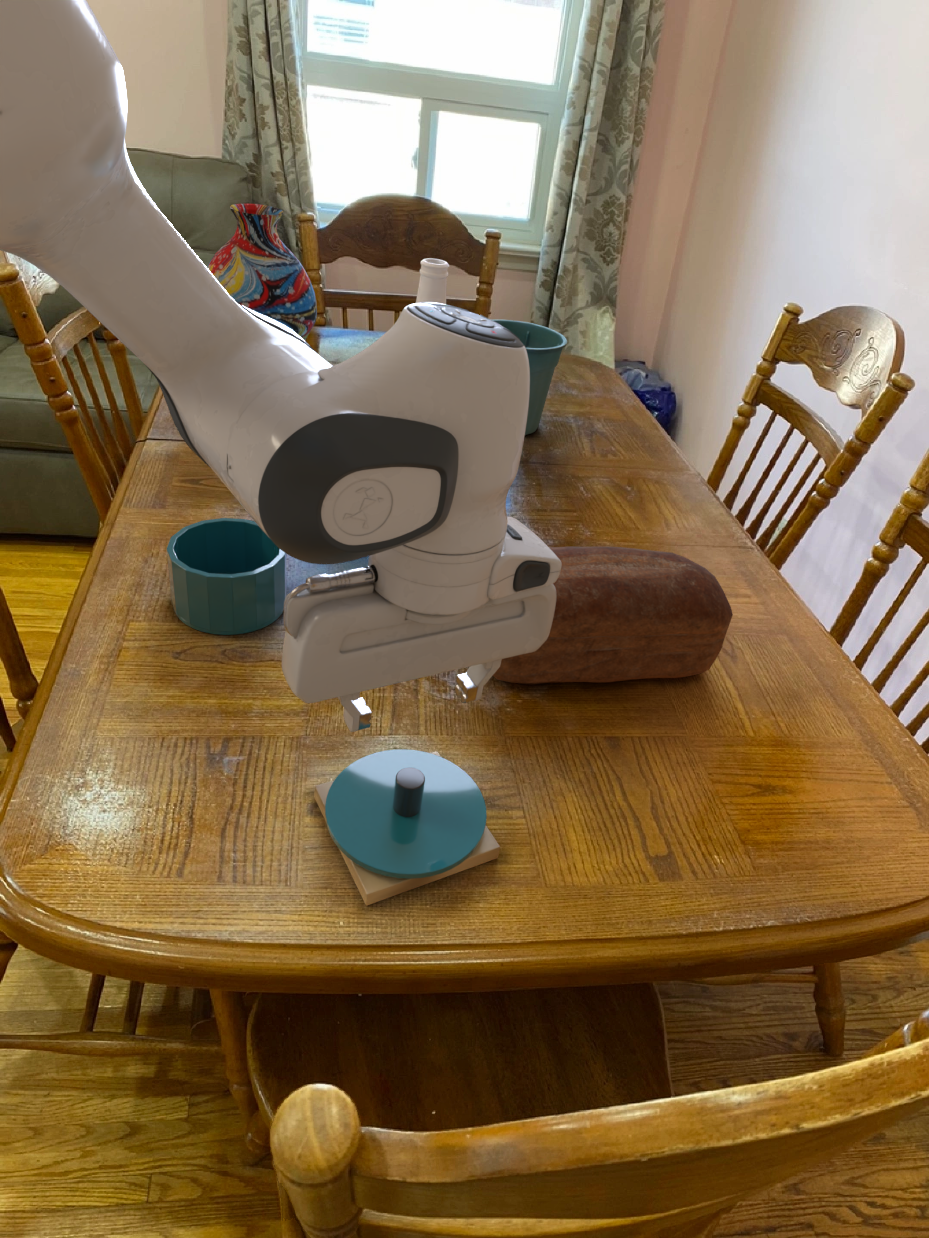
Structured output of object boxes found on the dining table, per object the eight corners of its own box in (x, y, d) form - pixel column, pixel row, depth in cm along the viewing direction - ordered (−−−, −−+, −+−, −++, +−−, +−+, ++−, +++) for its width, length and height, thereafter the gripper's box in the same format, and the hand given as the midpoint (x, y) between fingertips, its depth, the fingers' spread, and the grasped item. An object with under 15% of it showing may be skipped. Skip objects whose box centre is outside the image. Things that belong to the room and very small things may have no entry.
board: (365, 906, 64) (367, 894, 63) (313, 797, 72) (314, 785, 71) (498, 858, 69) (500, 846, 68) (435, 761, 78) (437, 750, 77)
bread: (456, 621, 96) (469, 530, 89) (674, 616, 103) (702, 531, 96) (482, 699, 86) (500, 603, 78) (724, 688, 92) (760, 599, 85)
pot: (187, 644, 87) (182, 585, 83) (162, 582, 95) (156, 526, 91) (300, 622, 92) (301, 566, 88) (267, 565, 101) (266, 512, 97)
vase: (207, 374, 149) (197, 191, 132) (313, 380, 153) (317, 204, 136) (199, 415, 134) (186, 215, 117) (316, 421, 138) (321, 228, 121)
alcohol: (452, 470, 129) (478, 270, 112) (401, 476, 125) (420, 270, 108) (428, 447, 135) (448, 253, 118) (378, 452, 131) (392, 252, 114)
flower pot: (464, 400, 155) (475, 312, 145) (550, 413, 155) (567, 327, 145) (455, 433, 141) (466, 339, 132) (549, 448, 141) (567, 355, 132)
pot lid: (361, 907, 62) (364, 868, 59) (302, 781, 71) (302, 743, 69) (514, 851, 68) (523, 814, 65) (441, 743, 77) (446, 705, 75)
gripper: (301, 610, 48) (296, 773, 56) (582, 560, 58) (544, 707, 66) (268, 555, 53) (268, 714, 61) (534, 517, 62) (504, 659, 70)
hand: (413, 710), depth 63 cm, fingers open, 8 cm apart
